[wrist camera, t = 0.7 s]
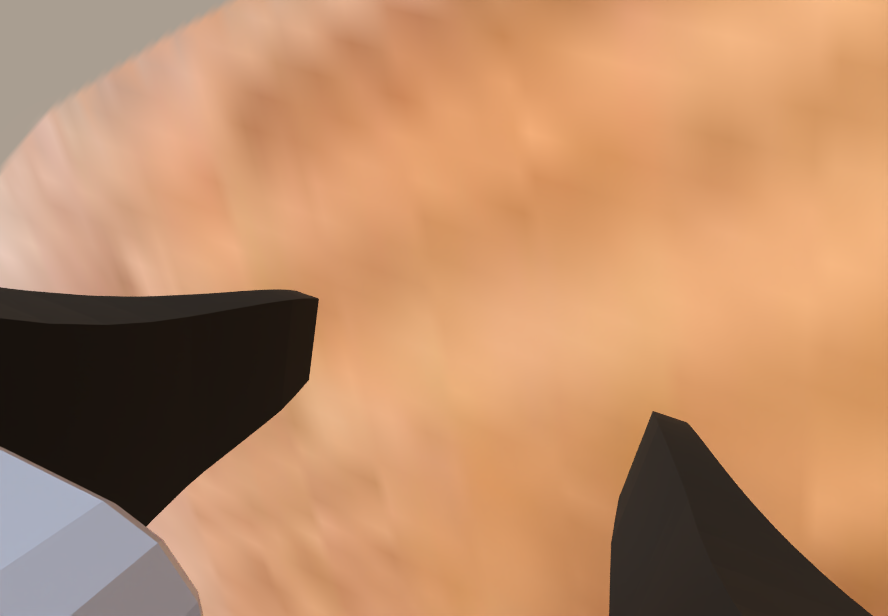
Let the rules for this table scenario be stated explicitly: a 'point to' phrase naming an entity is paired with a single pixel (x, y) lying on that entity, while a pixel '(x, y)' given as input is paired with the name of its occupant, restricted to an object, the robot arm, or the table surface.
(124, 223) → the table surface
